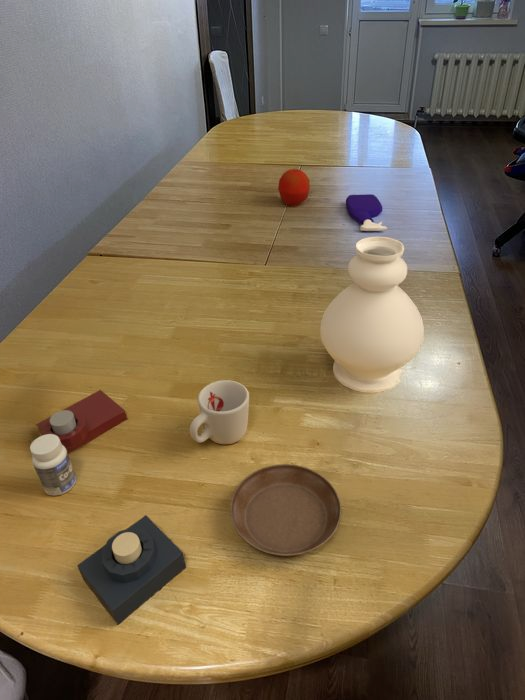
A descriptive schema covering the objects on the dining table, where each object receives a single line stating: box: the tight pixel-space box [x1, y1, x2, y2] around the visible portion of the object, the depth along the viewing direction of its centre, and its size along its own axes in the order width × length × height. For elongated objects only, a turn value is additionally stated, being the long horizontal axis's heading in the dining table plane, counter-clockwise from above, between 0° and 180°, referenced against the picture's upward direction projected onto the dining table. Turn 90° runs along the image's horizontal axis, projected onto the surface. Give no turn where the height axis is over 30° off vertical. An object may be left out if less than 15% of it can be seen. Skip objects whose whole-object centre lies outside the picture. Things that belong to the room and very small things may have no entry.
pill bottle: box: [29, 434, 77, 497], centre depth 74 cm, size 5×5×8 cm
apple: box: [277, 168, 311, 207], centre depth 166 cm, size 10×10×12 cm
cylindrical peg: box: [112, 532, 142, 564], centre depth 61 cm, size 3×3×2 cm
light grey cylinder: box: [50, 409, 77, 435], centre depth 81 cm, size 4×4×2 cm
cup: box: [189, 379, 250, 445], centre depth 81 cm, size 11×8×8 cm
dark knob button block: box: [76, 514, 187, 626], centre depth 63 cm, size 10×8×5 cm
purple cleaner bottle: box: [345, 193, 388, 232], centre depth 157 cm, size 3×11×24 cm
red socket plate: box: [35, 389, 128, 455], centre depth 85 cm, size 13×9×4 cm
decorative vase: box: [319, 236, 425, 394], centre depth 89 cm, size 18×18×25 cm
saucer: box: [229, 463, 342, 557], centre depth 70 cm, size 15×15×3 cm
